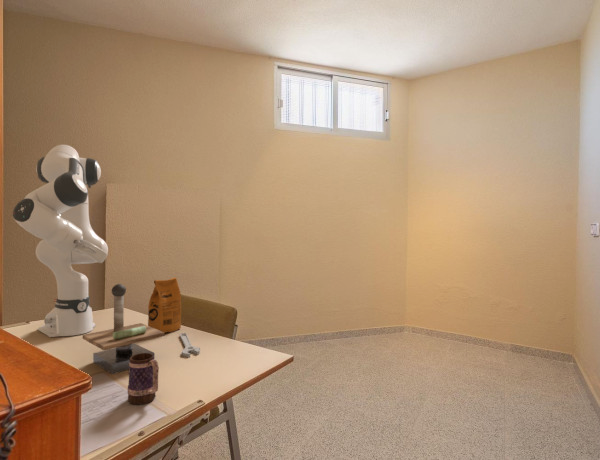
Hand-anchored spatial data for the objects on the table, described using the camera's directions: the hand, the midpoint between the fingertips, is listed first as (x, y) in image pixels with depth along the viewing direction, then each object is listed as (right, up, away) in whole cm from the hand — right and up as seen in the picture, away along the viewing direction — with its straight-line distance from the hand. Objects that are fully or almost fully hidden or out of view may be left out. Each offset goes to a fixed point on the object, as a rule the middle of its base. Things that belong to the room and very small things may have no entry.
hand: (98, 257), depth 134 cm
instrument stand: (+10, -35, -2) cm, 36 cm away
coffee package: (+11, -33, +34) cm, 49 cm away
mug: (+27, -37, -28) cm, 53 cm away
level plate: (+10, -26, -2) cm, 28 cm away
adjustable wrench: (+26, -35, +16) cm, 47 cm away
